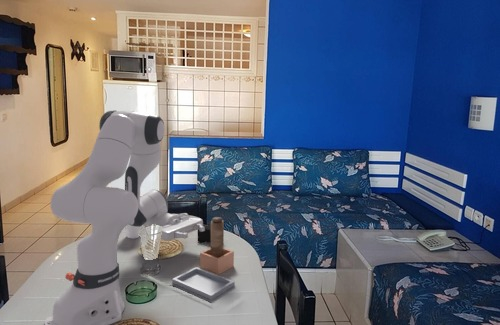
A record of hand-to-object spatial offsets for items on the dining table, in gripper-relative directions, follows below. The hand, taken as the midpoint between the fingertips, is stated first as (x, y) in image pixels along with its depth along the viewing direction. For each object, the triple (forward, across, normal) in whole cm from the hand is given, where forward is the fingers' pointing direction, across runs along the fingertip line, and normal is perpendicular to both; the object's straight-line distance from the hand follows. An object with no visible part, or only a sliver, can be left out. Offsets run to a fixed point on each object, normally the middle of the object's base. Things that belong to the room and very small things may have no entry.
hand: (195, 232), depth 153 cm
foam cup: (-41, +2, +12) cm, 43 cm away
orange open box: (+11, 0, +12) cm, 16 cm away
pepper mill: (+11, 0, +11) cm, 16 cm away
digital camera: (-9, +19, +12) cm, 24 cm away
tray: (+16, -13, +12) cm, 24 cm away
